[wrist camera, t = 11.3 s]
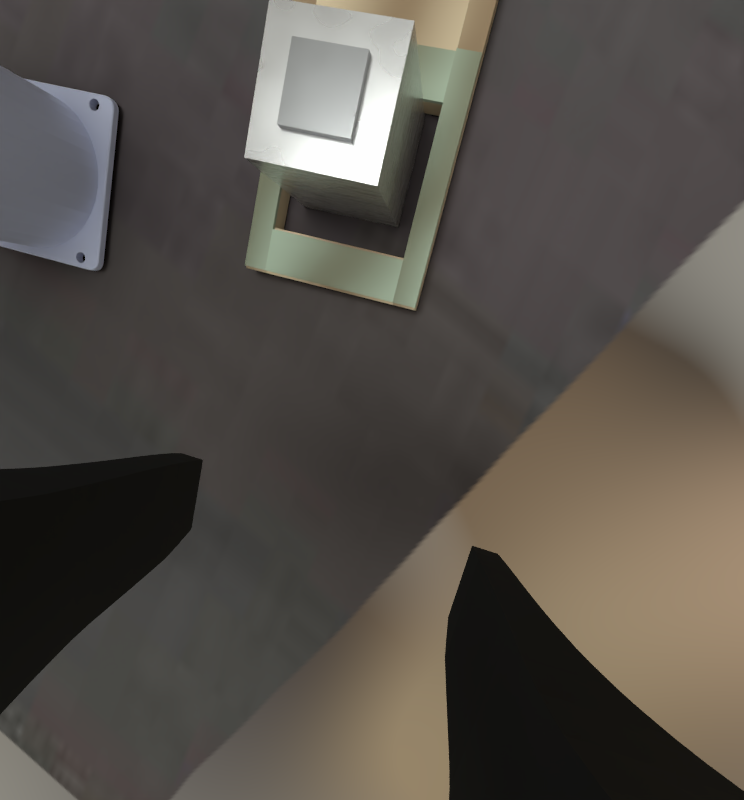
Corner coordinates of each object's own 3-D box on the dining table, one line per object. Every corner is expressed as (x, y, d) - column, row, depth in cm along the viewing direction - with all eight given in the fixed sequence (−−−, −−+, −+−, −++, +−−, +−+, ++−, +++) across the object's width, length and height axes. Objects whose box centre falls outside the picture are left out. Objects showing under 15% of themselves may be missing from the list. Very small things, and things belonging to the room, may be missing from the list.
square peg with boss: (304, 206, 19) (239, 153, 13) (325, 99, 18) (265, -11, 12) (398, 227, 19) (375, 182, 13) (424, 118, 18) (413, 13, 12)
